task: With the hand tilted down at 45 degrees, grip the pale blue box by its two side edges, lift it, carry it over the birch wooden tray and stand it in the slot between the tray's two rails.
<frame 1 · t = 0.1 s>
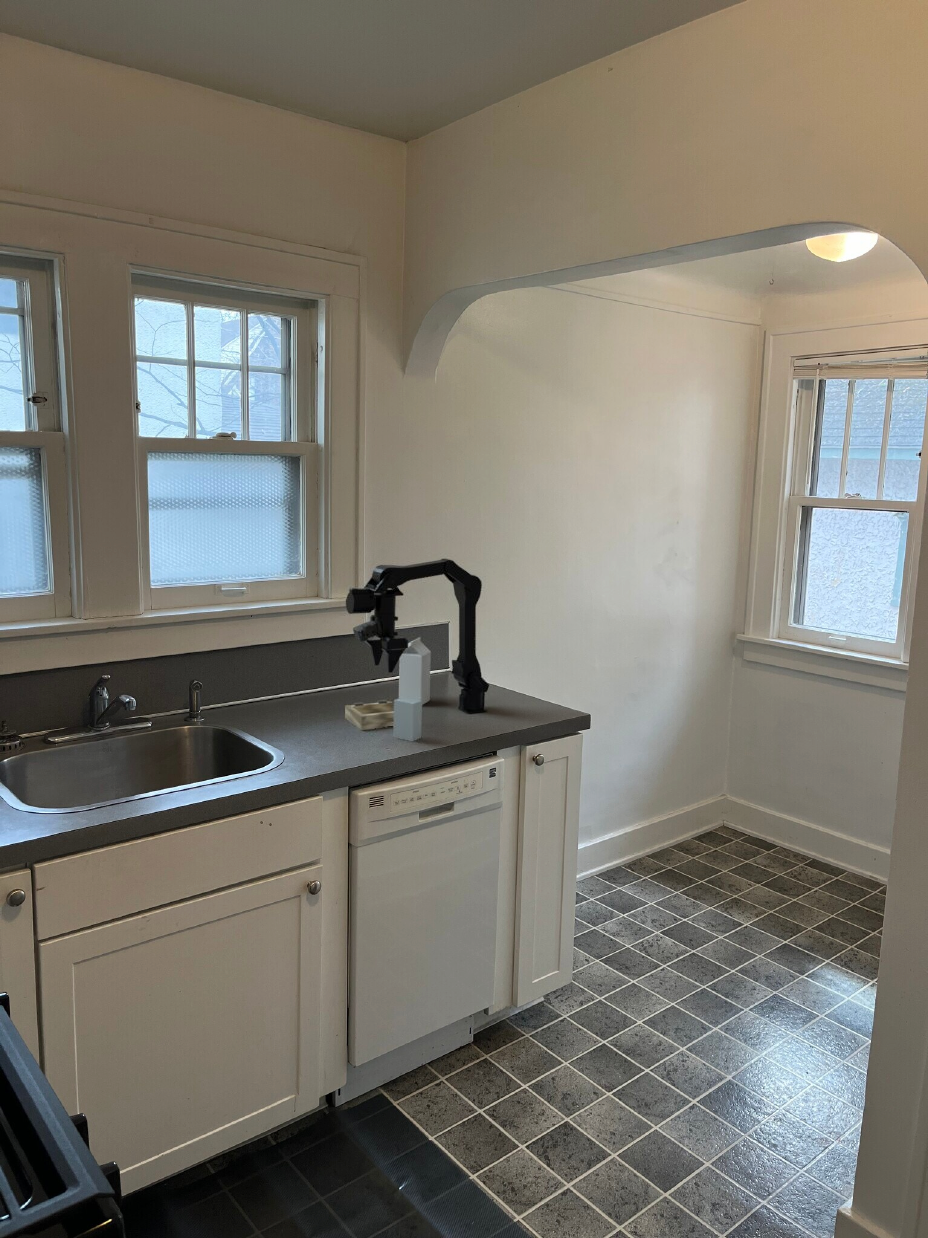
hand: (383, 668, 253), 15 cm above the worktop, tool pointing down, fingers open, 9 cm apart
pale blue box: (407, 737, 241), on the worktop
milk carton: (414, 703, 275), on the worktop
wooden tray: (377, 721, 254), on the worktop
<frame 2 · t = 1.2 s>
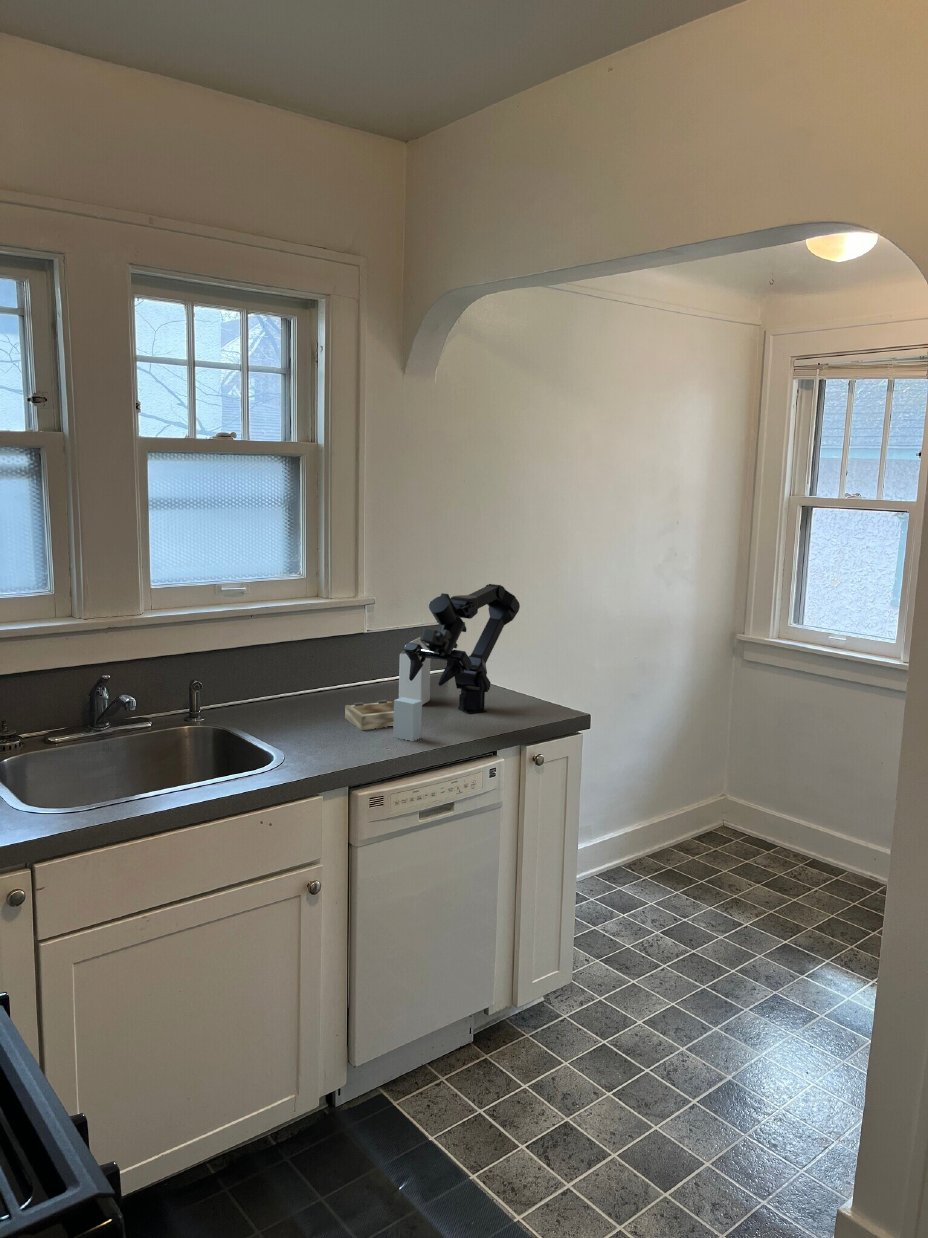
hand: (424, 682, 245), 13 cm above the worktop, tool tilted 45°, fingers open, 9 cm apart
nothing on the worktop moved.
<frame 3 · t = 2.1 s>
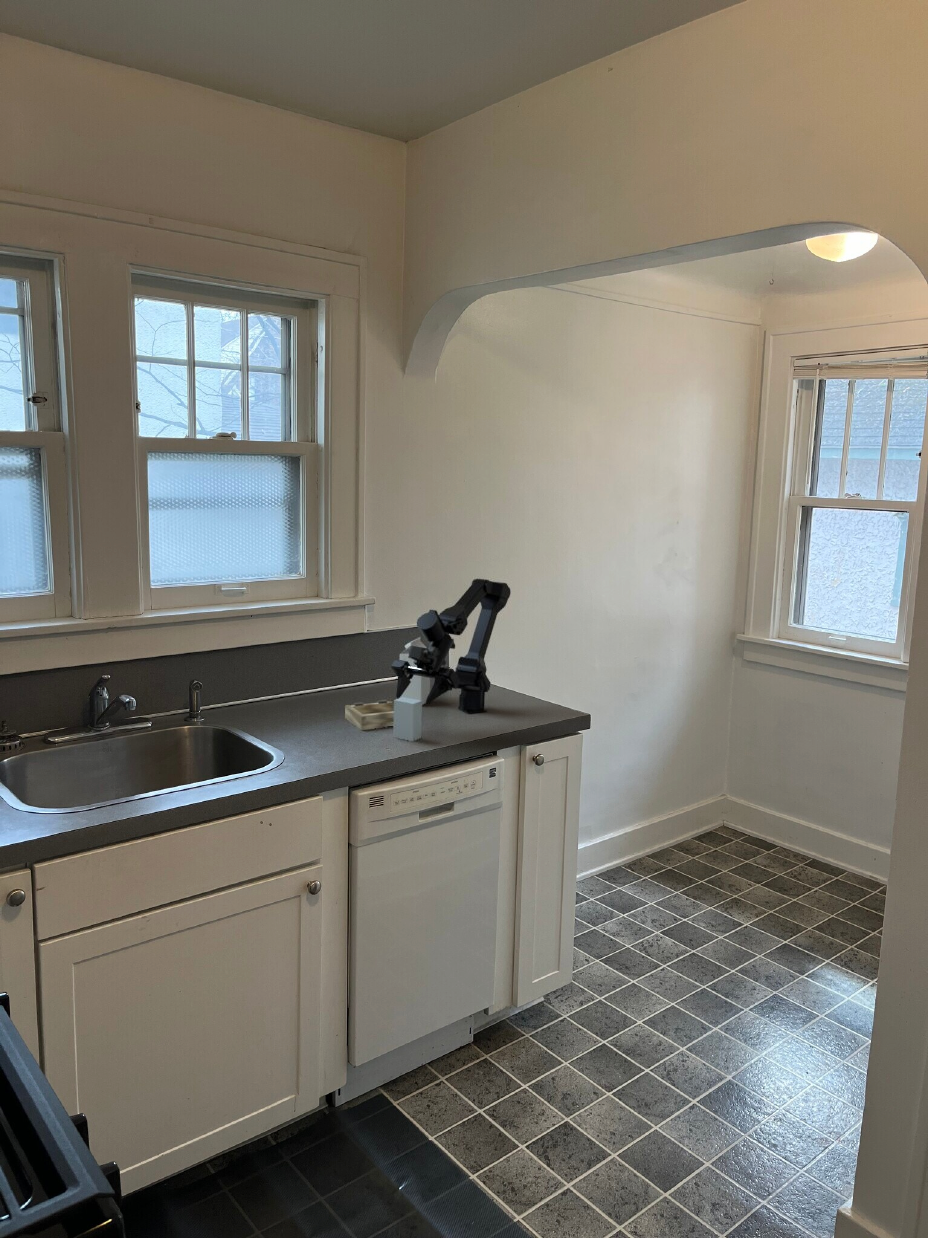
hand: (411, 700, 240), 10 cm above the worktop, tool tilted 45°, fingers open, 9 cm apart
nothing on the worktop moved.
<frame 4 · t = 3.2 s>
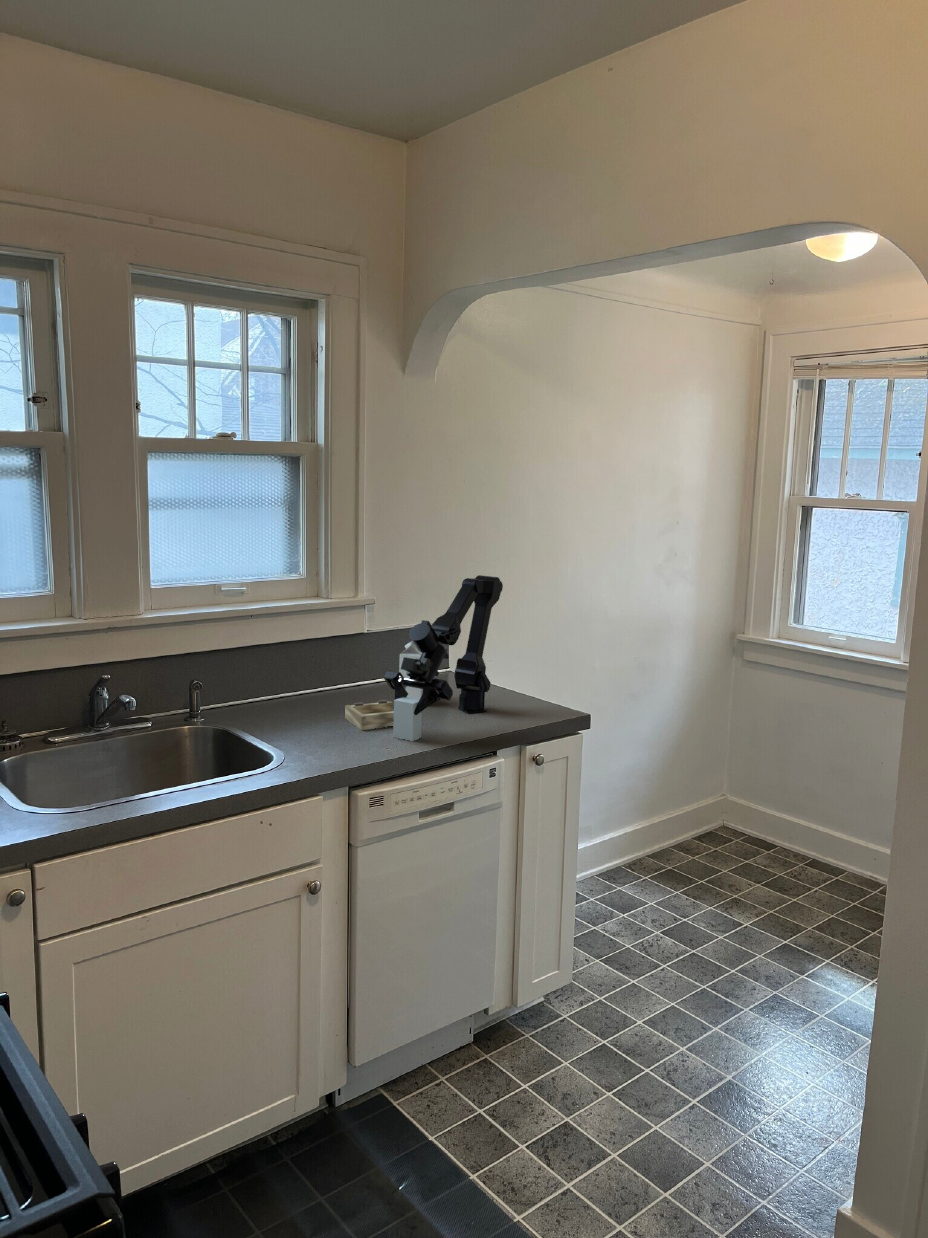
hand: (404, 712, 238), 7 cm above the worktop, tool tilted 45°, fingers closed on pale blue box, 6 cm apart
pale blue box: (407, 737, 241), on the worktop, touching gripper
everything else where it was.
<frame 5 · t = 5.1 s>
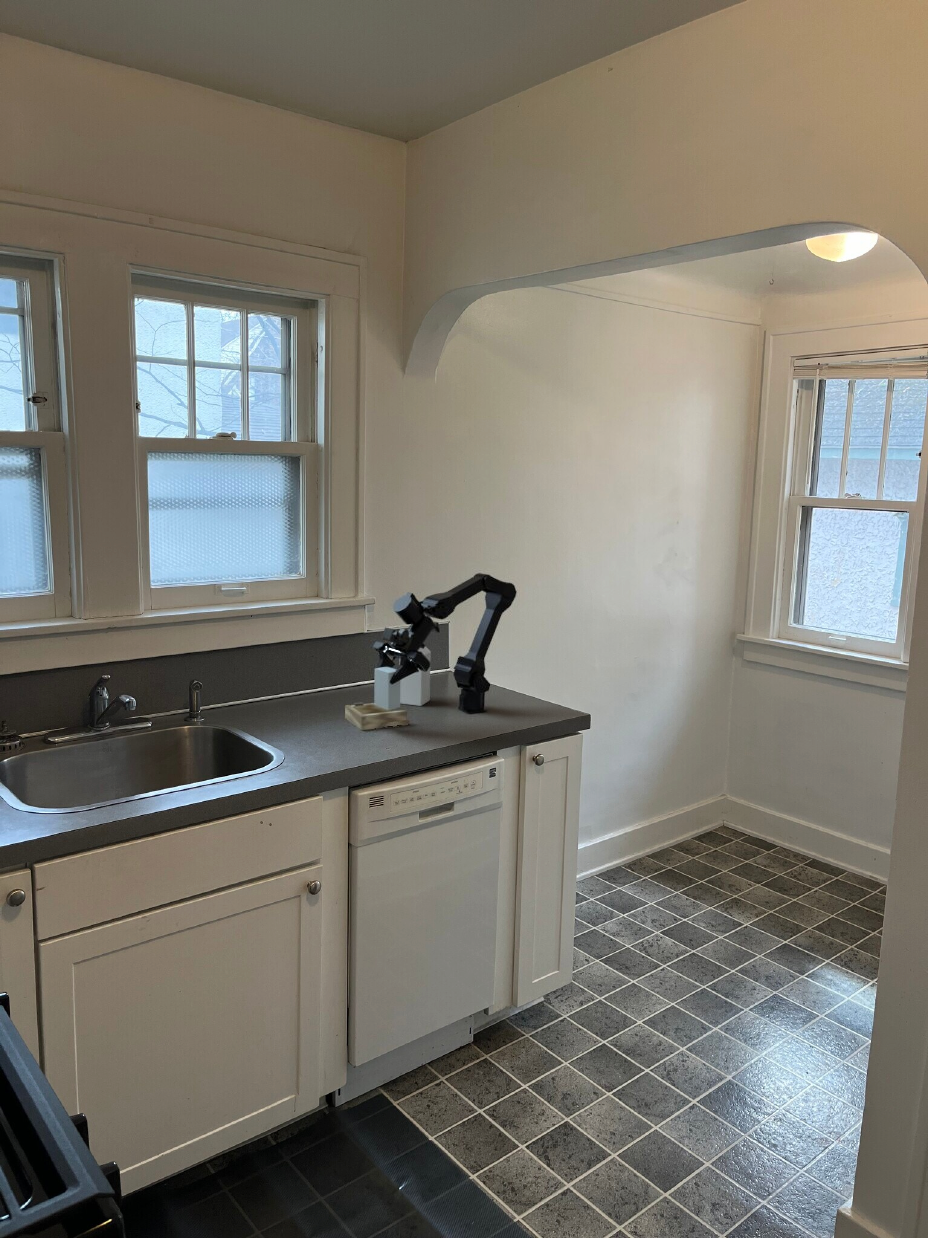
hand: (383, 681, 245), 13 cm above the worktop, tool tilted 45°, fingers closed on pale blue box, 6 cm apart
pale blue box: (387, 706, 247), point 6 cm above the worktop, touching gripper
everything else where it was.
when the fingers open (10 cm above the worktop, at t = 6.7 s): pale blue box drops 1 cm, resting on wooden tray.
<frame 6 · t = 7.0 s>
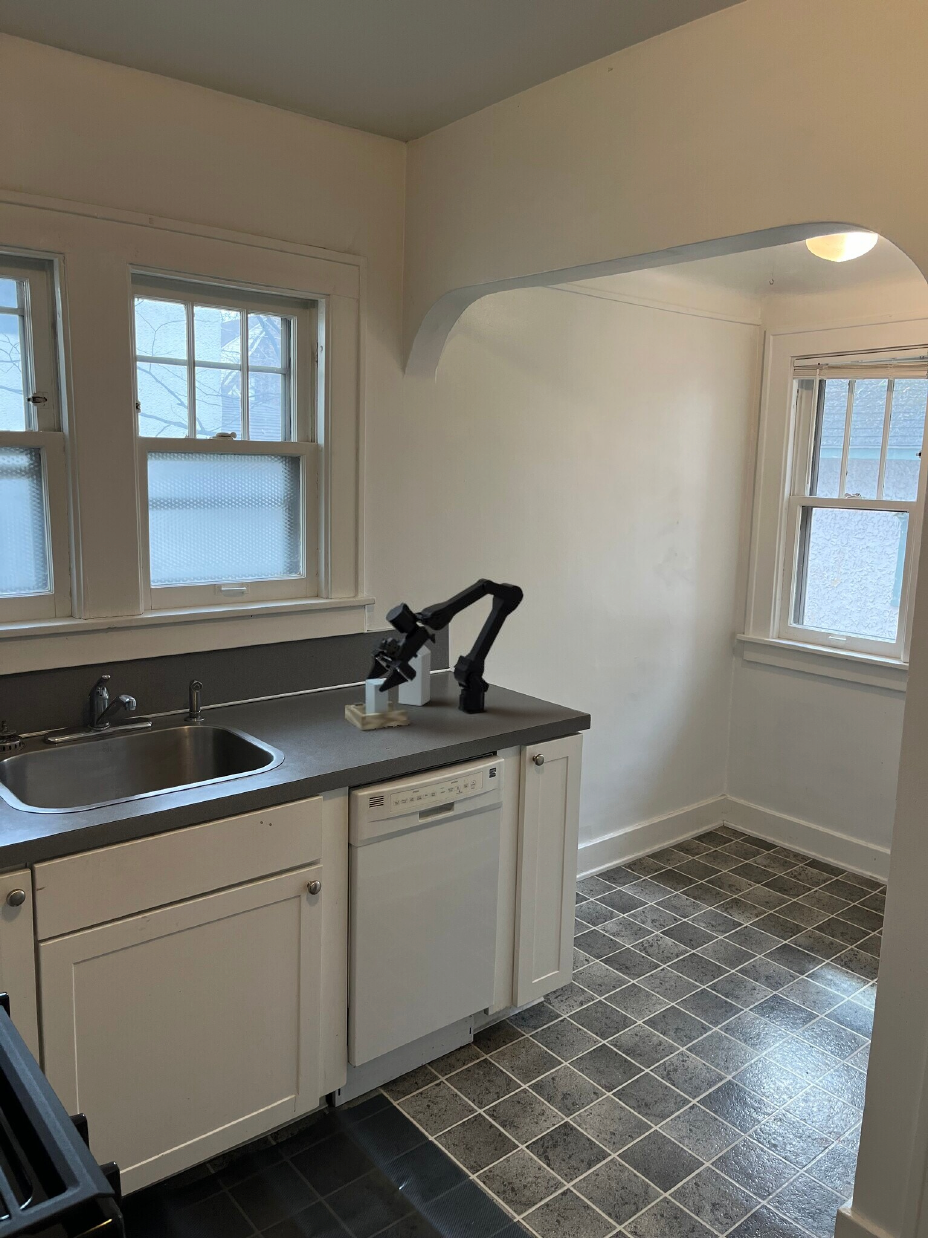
hand: (372, 687, 252), 10 cm above the worktop, tool tilted 45°, fingers open, 9 cm apart
pale blue box: (376, 717, 254), point 1 cm above the worktop, touching wooden tray
everything else where it was.
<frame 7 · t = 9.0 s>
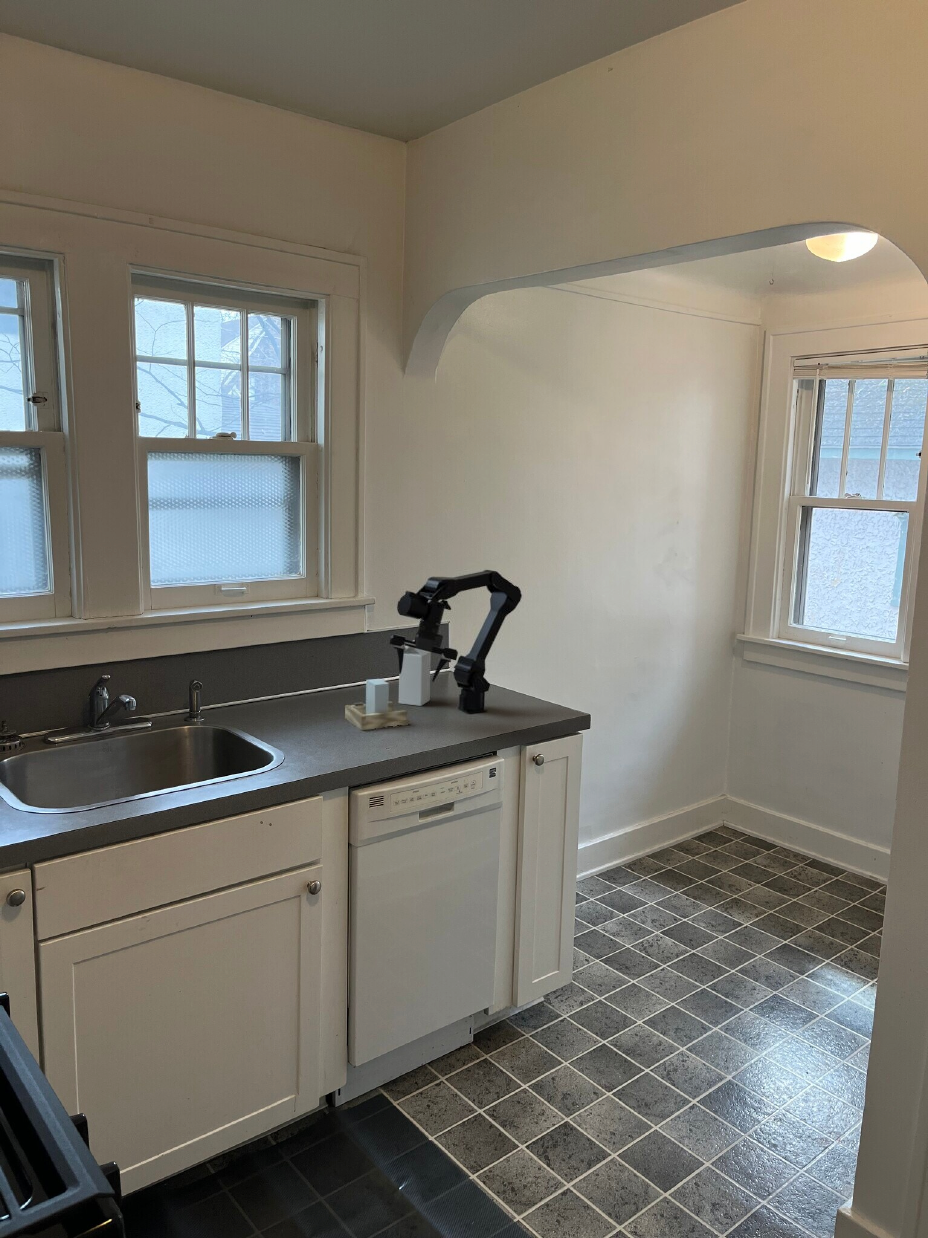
hand: (416, 677, 254), 12 cm above the worktop, tool tilted 15°, fingers open, 9 cm apart
nothing on the worktop moved.
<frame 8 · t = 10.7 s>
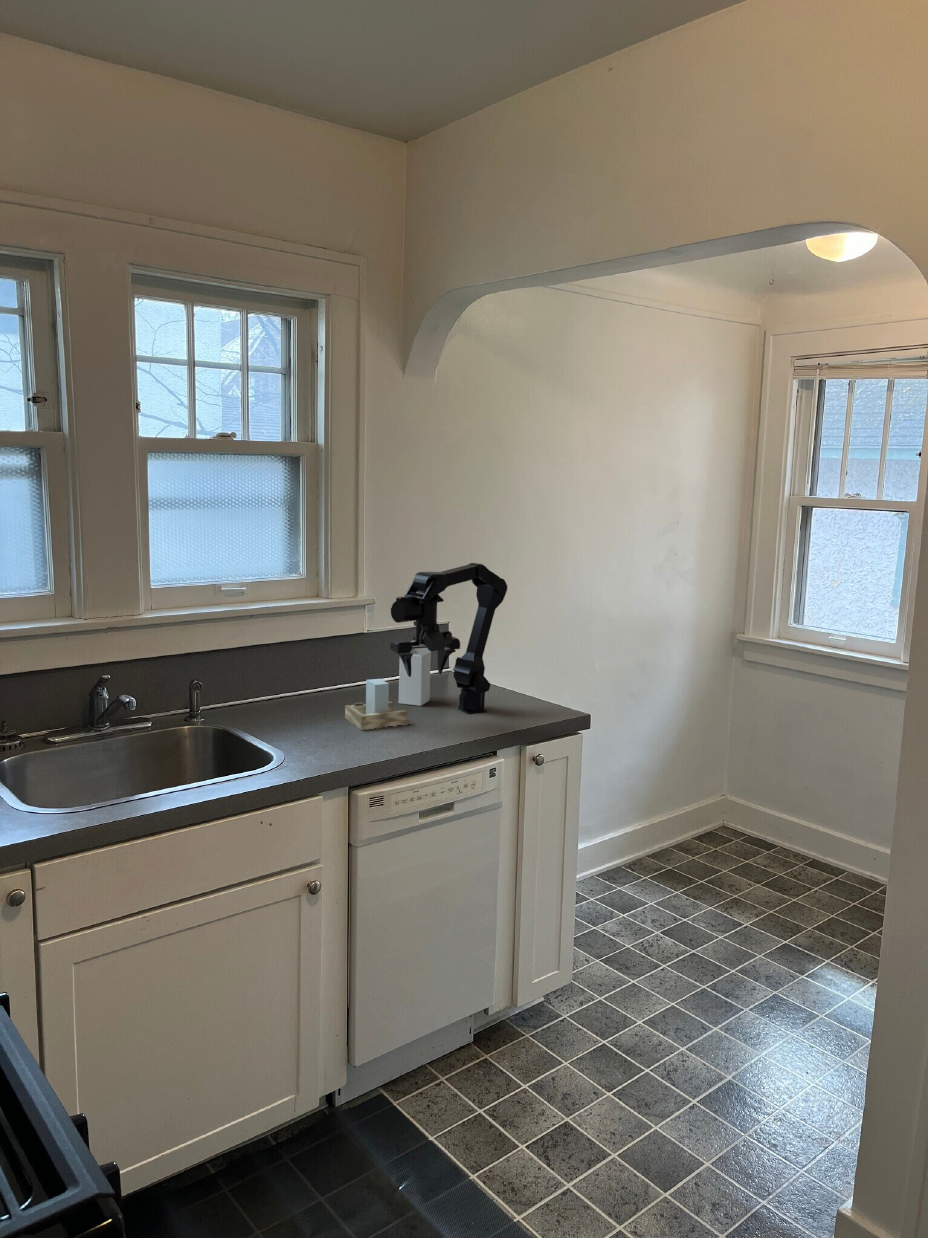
hand: (424, 675, 254), 13 cm above the worktop, tool pointing down, fingers open, 9 cm apart
nothing on the worktop moved.
at the end: pale blue box inside the target area on the wooden tray (0.1 cm from its centre), point 1.2 cm above the wooden tray's base; pale blue box tilted 0°; the gripper is holding nothing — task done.
